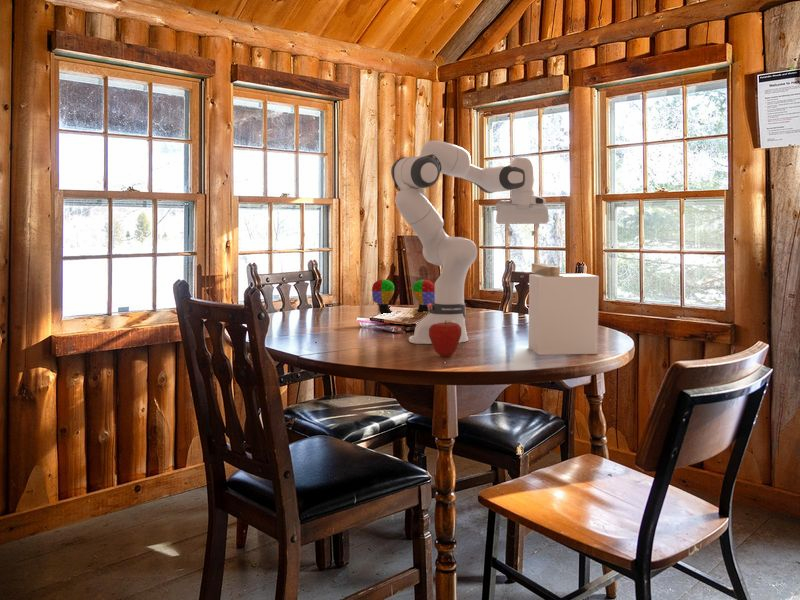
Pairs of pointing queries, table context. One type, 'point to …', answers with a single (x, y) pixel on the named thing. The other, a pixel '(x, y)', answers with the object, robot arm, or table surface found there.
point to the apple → (445, 337)
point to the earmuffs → (385, 291)
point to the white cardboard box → (563, 314)
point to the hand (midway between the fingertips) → (522, 235)
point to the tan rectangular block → (545, 269)
